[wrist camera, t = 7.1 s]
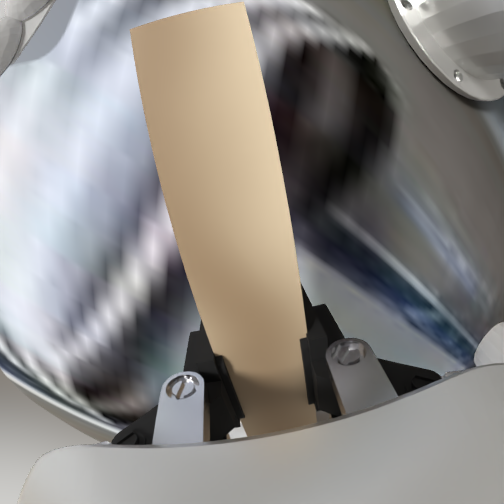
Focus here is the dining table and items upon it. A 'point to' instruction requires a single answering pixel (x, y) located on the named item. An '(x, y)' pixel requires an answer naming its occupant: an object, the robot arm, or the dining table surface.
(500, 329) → the white cylinder
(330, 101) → the dining table surface
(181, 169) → the tan wooden plank
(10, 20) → the paint palette
